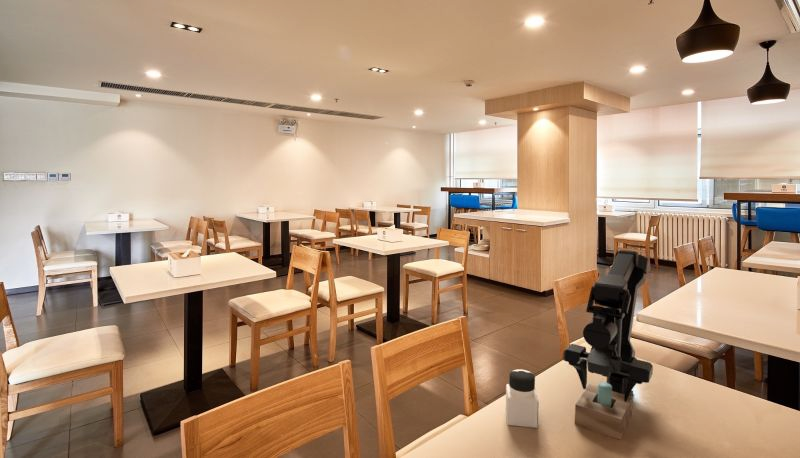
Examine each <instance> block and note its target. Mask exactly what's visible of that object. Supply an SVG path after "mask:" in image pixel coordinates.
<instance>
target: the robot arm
mask: <svg viewBox="0 0 800 458" xmlns="http://www.w3.org/2000/svg"><path fill="white" fill-rule="evenodd" d="M650 270H651V261H650V260H649V258H648V257H646V256H644V255H642V254H640V253H639V252H638V251H635V250H627V249H618V250H616V252H615V254H614V257H613V263H612V265H611V266H610V268H609V271H608V272H607V274H606V275H603V276H600V277H599V278H598V279H597V280H596V282H595V283H594V284H593V285H591V289H590V293H589V296H588V297H589V298H588V301H587V306H586V310H585V312H586V313H591V314H592V318H591V320H590V321H589V322H588V323H587V324H586V326H584V329H583V330H582V334H583V335H582V336H583V339H584V341H585V342H586V343H587V344H588V345H589V346H590V347H591V348H590V351H589V352H587V348H586V346H583V345H579V344H575V343H570V344H569V345H568V346H567V347H566V348H565V349H564V350H563V353H562V355H563V356H562V360H563V362H567V363H568V365H570V366H571V367H573V368H574V369H575V370H576V372H577V375H578V378H579V380H580V383H581V387H582V389H583V390H586V389H587V383H588V372H589V373H591V374H597V375H600V376H602V377H606V382H605V383H608V384H610V385H611V386H612V391H614V392H617V393H621V394H624V395H625V396H624V402H626V401H627V399H628V397H629V396H631V397H633V394H634V391H633V389H634V387H635V386H636V385H642V384H643V383H645V384H648V383H650V380H651V378H652V376H653V371H654V366H653V364H652V363H651V362H648V361H644V360H640V359H637V357H636V351H635V350H636V349H635V348H634V347H633V344H632V342H631V338H632V336H631V335H632V330H633V322H634V316H635V311H636V303H637V302H636V301H637V296H638V290H639V288H640V287H642V285H644V284H645V282H646V281H647V275H650Z"/></svg>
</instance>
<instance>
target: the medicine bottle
mask: <svg viewBox="0 0 800 458" xmlns="http://www.w3.org/2000/svg"><path fill="white" fill-rule="evenodd" d="M508 378H509V382H508V383H507V384H506V385H505V413H506V424H507V425H508V426H514V427H523V428H532V429H533V428H534V429H537V428H539V402H540V401H539V398H538V394H537V390H536V387H535V386H536V377H535V375H534V373H532V372H531V371H528V370H526V369H514V370H512V371H510V373H509V377H508Z"/></svg>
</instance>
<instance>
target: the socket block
mask: <svg viewBox="0 0 800 458" xmlns="http://www.w3.org/2000/svg"><path fill="white" fill-rule="evenodd" d="M624 396H625V395H624V394H621V393H617V392H614V391H612V397H611V407H608V406H605V405H601V404H598V403H597V400H598V385H597V386H596V385H593V384H590V383H589V384H588V386H586V389H584V391H583V393H582V394H581V396H580V397H579V399H578V400H577V401H576V403H575V406H574V424H575V425H578V426H581V427H584V428H586V429H590V430H592V431H594V432H596V433H600V434H603V435H605V436H608V437H611V438H614V439H617V440H620V441H621V440H622V437H623V434H624V433H625V430H626V428H627V426H628V425H629V421H630V419H631V417H632V411H633V410H632V409H633V408H632V407H633V396H629V397H628V399H627V401H626V402H624Z"/></svg>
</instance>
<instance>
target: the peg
mask: <svg viewBox="0 0 800 458" xmlns="http://www.w3.org/2000/svg"><path fill="white" fill-rule="evenodd" d="M597 384H598V385H597V387H598V400H597V403H598V404H601V405H605V406H608V407H611V397H612V386H611V385H610V384H608V383H606V382H604V381H603V382H599V383H597Z"/></svg>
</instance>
